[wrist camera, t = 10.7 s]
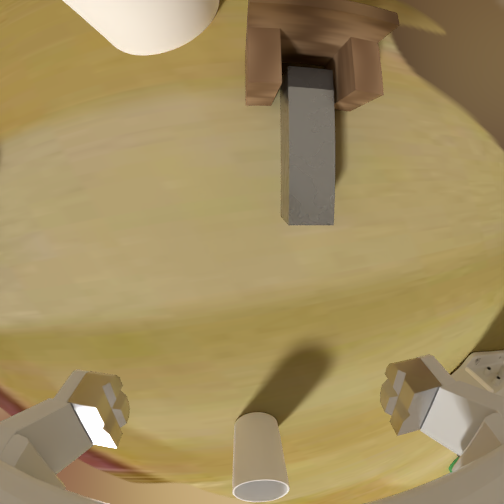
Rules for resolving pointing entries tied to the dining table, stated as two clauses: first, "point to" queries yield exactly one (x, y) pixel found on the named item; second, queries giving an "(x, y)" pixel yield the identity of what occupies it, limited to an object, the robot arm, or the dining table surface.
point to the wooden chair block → (316, 46)
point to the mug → (258, 459)
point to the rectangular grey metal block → (307, 146)
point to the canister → (147, 22)
